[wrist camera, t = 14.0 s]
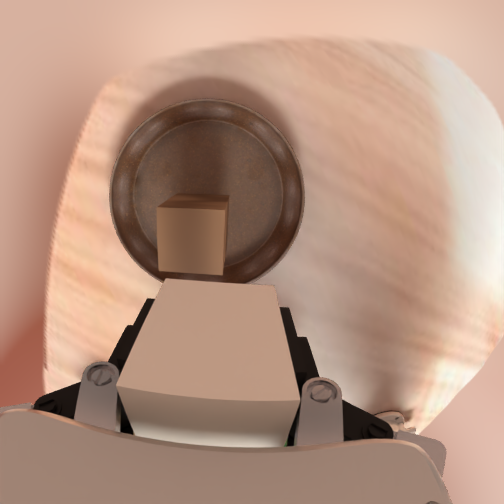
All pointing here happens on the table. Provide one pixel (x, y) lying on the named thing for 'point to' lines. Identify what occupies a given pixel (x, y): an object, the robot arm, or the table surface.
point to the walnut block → (193, 233)
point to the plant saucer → (210, 184)
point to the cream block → (211, 367)
